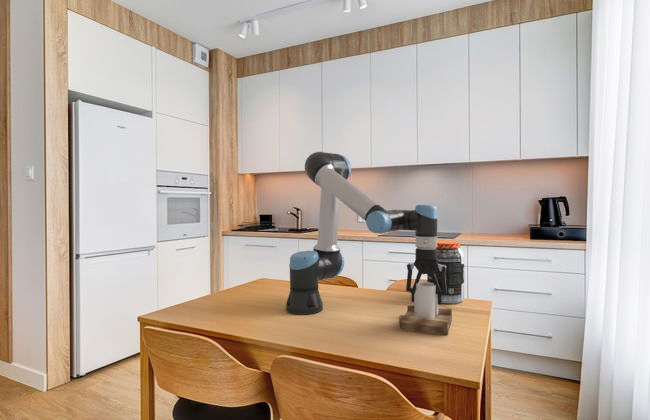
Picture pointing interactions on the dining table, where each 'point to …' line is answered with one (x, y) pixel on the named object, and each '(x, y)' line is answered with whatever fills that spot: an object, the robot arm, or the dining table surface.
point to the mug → (425, 299)
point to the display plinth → (427, 328)
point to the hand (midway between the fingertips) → (426, 312)
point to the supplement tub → (450, 270)
